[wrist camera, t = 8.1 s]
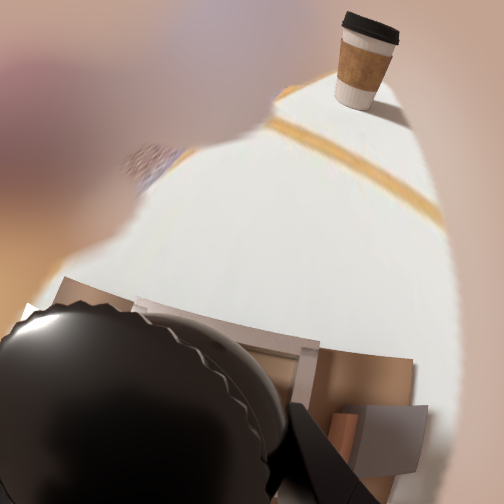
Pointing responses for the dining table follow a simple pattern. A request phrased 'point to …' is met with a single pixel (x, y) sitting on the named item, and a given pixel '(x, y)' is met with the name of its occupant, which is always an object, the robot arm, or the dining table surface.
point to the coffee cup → (363, 60)
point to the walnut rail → (318, 389)
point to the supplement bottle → (135, 412)
